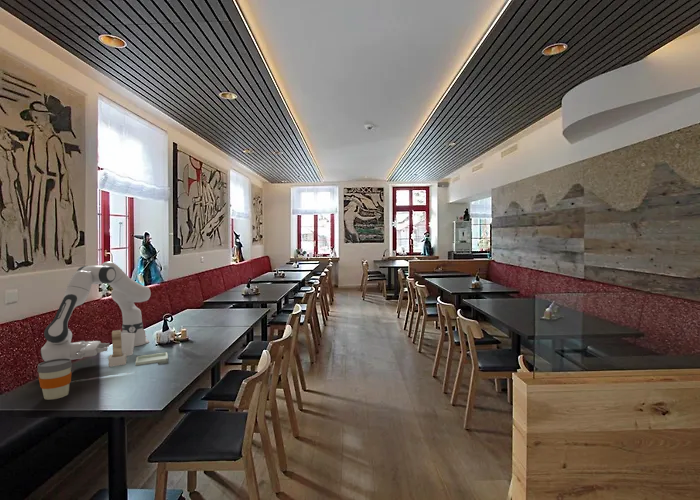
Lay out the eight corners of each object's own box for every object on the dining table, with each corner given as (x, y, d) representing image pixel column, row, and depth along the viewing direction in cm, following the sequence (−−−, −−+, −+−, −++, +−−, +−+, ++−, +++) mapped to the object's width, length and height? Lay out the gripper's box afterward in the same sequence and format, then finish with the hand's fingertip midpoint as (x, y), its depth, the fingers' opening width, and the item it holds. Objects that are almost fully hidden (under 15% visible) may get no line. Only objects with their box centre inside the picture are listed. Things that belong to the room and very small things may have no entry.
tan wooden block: (114, 363, 230) (112, 330, 229) (122, 362, 231) (120, 329, 231) (113, 365, 226) (111, 332, 226) (121, 363, 228) (120, 331, 227)
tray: (136, 360, 237) (136, 356, 237) (167, 356, 244) (167, 352, 244) (135, 367, 224) (135, 362, 224) (168, 362, 231) (167, 358, 231)
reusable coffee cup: (53, 390, 192) (51, 358, 192) (79, 390, 192) (78, 357, 191) (31, 401, 180) (29, 367, 179) (59, 401, 179) (58, 366, 179)
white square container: (110, 364, 231) (110, 354, 231) (126, 362, 234) (126, 352, 234) (108, 368, 224) (108, 358, 223) (125, 366, 227) (125, 356, 227)
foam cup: (127, 359, 241) (126, 336, 240) (113, 358, 243) (112, 336, 242) (139, 354, 250) (138, 332, 250) (125, 353, 252) (124, 332, 252)
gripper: (74, 349, 212) (105, 345, 217) (81, 340, 230) (110, 337, 236) (75, 361, 212) (106, 357, 218) (82, 351, 231) (110, 348, 236)
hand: (108, 346), depth 227 cm, fingers open, 8 cm apart
